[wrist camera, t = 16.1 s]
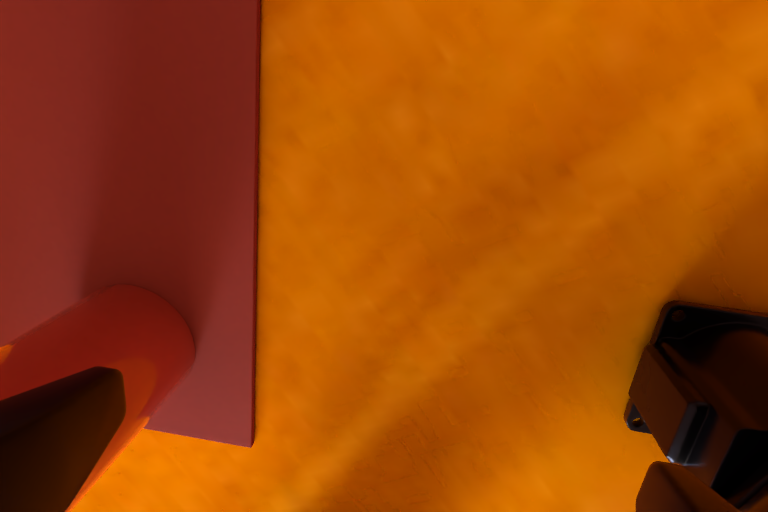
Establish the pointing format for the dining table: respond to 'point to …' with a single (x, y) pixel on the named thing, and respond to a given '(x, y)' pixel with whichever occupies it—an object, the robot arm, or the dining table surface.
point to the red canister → (107, 356)
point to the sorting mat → (137, 179)
